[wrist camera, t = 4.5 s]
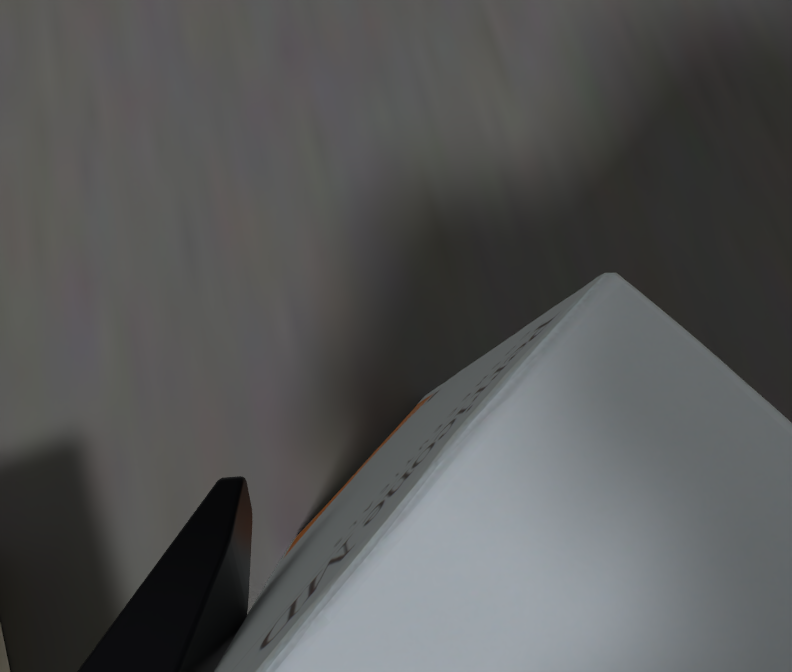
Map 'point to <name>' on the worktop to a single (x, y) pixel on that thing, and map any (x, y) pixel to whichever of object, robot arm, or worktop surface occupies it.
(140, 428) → the worktop surface
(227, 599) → the robot arm
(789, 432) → the skincare box
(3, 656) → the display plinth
